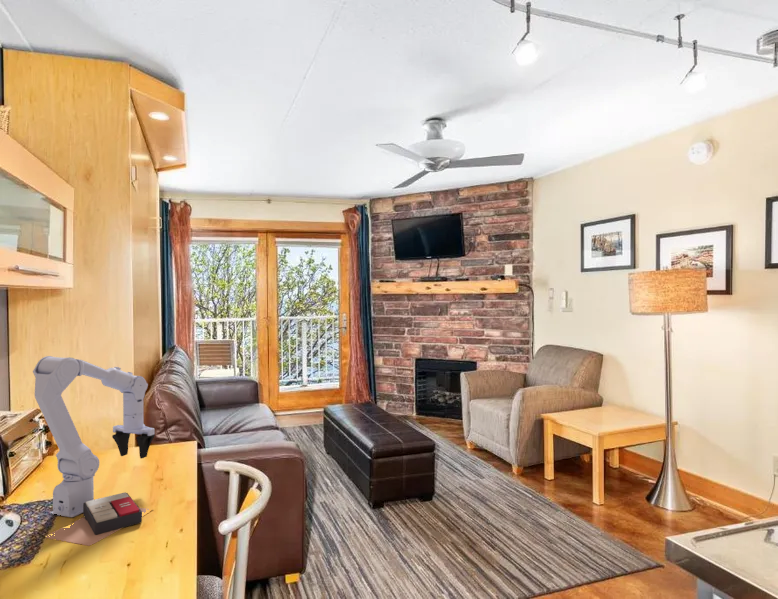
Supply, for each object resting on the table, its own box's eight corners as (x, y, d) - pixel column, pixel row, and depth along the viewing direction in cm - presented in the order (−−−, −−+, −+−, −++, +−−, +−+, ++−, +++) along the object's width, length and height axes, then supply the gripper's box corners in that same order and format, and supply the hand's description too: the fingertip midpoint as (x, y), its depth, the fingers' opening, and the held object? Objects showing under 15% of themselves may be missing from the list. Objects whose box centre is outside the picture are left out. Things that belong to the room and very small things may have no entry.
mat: (89, 547, 120) (89, 545, 120) (42, 539, 125) (42, 537, 125) (154, 511, 140) (154, 509, 140) (111, 505, 145) (111, 503, 145)
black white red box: (95, 521, 125) (82, 500, 136) (94, 538, 125) (82, 515, 137) (142, 508, 132) (127, 489, 144) (142, 524, 133) (127, 504, 144)
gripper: (161, 412, 160) (161, 454, 160) (125, 409, 164) (125, 450, 164) (144, 417, 153) (145, 461, 153) (107, 414, 158) (107, 457, 158)
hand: (133, 456), depth 158 cm, fingers open, 7 cm apart
